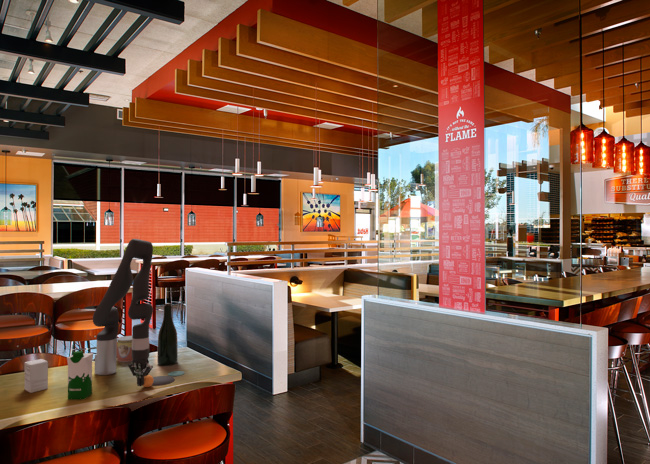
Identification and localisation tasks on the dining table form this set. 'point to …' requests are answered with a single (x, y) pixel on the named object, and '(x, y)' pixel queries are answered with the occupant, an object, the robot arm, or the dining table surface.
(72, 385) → the milk carton
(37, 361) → the supplement box
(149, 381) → the ball
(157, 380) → the disc
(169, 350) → the dark green wine bottle
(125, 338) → the canned food
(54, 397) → the dining table surface
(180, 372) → the disc
